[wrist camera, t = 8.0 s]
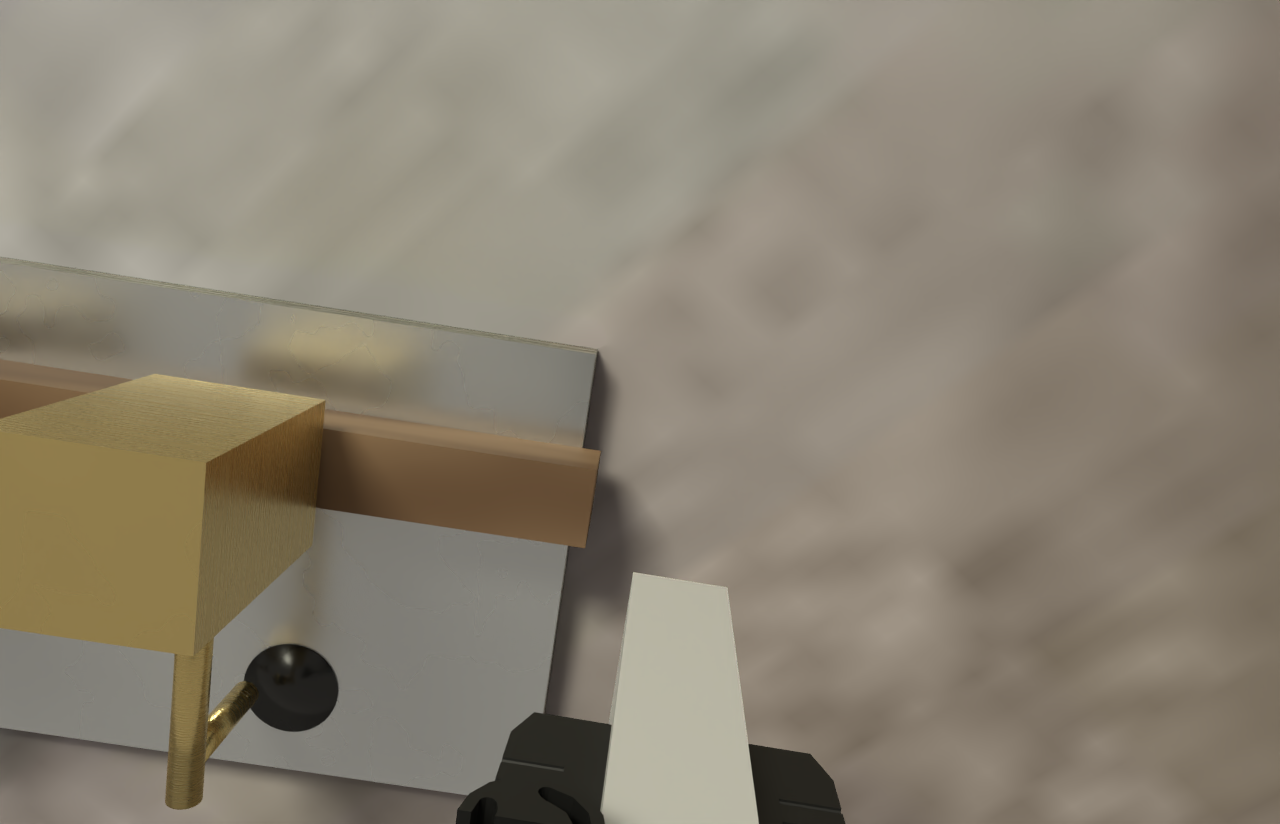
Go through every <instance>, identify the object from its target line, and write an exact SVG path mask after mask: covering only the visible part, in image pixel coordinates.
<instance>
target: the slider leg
mask: <svg viewBox="0 0 1280 824" xmlns="http://www.w3.org/2000/svg"><path fill="white" fill-rule="evenodd" d="M325 402H326V400H323V399H317V398H310V397H304V396H297V395H291V394H284V393H277V392H271V391H264V390H258V389H251V388H245V387H238V386H232V385H225V384H219V383H212V382H205V381H199V380H192V379H186V378H179V377H173V376H166V375H160V374H153V375H149V376H146V377H142V378H139V379H135V380H132V381H128V382H125V383H122V384H118V385H115V386H111V387H108V388H104V389H101V390H98V391H94V392H91V393H87V394H84V395H80V396H77V397H74V398H70V399H67V400H63V401H60V402H56V403H53V404H49V405H46V406H43V407H39V408H36V409H32V410H29V411H25V412H22V413H19V414H15V415H12V416H8V417H5V418H1V419H0V628H3V629H10V630H17V631H23V632H30V633H37V634H44V635H51V636H57V637H64V638H71V639H78V640H85V641H91V642H98V643H105V644H112V645H119V646H126V647H132V648H139V649H146V650H153V651H160V652H166V653H173V654H174V669H173V685H172V701H171V717H170V733H169V749H168V765H167V781H166V797H165V803H166V805H167V806H168V807H170V808H172V809H178V810H181V809H188V808H191V807H194V806H196V805H197V804H199V803H200V802H201V800H202V798H203V785H204V771H205V762H206V761H207V760H208V758H209V757H210V756H211V755H212V754H213V752H214V751H215V750H216V749H217V748H218V746H219V745H220V744H221V743H222V742H223V740H224V739H225V738H226V737H227V736H228V734H229V733H230V732H231V731H232V730H233V728H234V727H235V726H236V725H237V724H238V722H239V721H240V720H241V719H242V718H243V716H244V715H245V714H246V713H247V712H248V710H249V709H250V708H251V707H252V706H253V704H254V703H255V702H256V701H257V699H258V697H259V691H258V689H257V687H256V686H255V685H254V684H253V683H251V682H248V681H242V682H239V683H237V684H236V685H235V686H234V687H233V689H232V690H231V691H230V692H229V693H228V694H227V695H226V696H225V697H224V698H223V700H222V701H221V702H220V703H219V704H218V705H217V706H216V707H215V708H214V709H213V711H212V712H211V713H210V714H209V700H210V686H211V672H212V658H213V644H214V637H215V636H216V635H217V634H218V633H219V632H220V631H221V630H222V629H223V628H224V627H225V626H226V625H227V624H229V623H230V622H231V621H232V620H233V619H234V618H235V617H236V616H237V615H238V614H239V613H240V612H241V611H242V610H243V609H245V608H246V607H247V606H248V605H249V604H250V603H251V602H252V601H253V600H254V599H255V598H256V597H257V596H258V595H259V594H261V593H262V592H263V591H264V590H265V589H266V588H267V587H268V586H269V585H270V584H271V583H272V582H273V581H274V580H276V579H277V578H278V577H279V576H280V575H281V574H282V573H283V572H284V571H285V570H286V569H287V568H288V567H289V566H290V565H292V564H293V563H294V562H295V561H296V560H297V559H298V558H299V557H300V556H301V555H302V554H303V553H304V552H305V551H307V550H308V549H309V548H310V547H311V546H312V545H313V534H314V523H315V512H316V501H317V490H318V479H319V468H320V457H321V446H322V435H323V424H324V413H325ZM208 714H209V715H208Z"/></svg>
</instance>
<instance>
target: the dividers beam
mask: <svg viewBox="0 0 1280 824" xmlns="http://www.w3.org/2000/svg"><path fill="white" fill-rule="evenodd" d="M132 380H133V379H127V378H120V377H114V376H107V375H101V374H94V373H87V372H81V371H74V370H68V369H61V368H55V367H48V366H42V365H35V364H28V363H22V362H15V361H9V360H2V359H0V419H1V418H5V417H8V416H12V415H15V414H19V413H22V412H25V411H29V410H32V409H36V408H39V407H43V406H46V405H49V404H53V403H56V402H60V401H63V400H67V399H70V398H74V397H77V396H80V395H84V394H87V393H91V392H94V391H98V390H101V389H104V388H108V387H111V386H115V385H118V384H122V383H125V382H128V381H132ZM600 454H601V451H598V450H592V449H585V448H579V447H572V446H566V445H559V444H552V443H546V442H539V441H533V440H526V439H520V438H513V437H507V436H500V435H493V434H487V433H480V432H474V431H467V430H461V429H454V428H448V427H441V426H435V425H428V424H421V423H415V422H408V421H402V420H395V419H389V418H382V417H376V416H369V415H362V414H356V413H349V412H343V411H336V410H330V409H325V413H324V424H323V435H322V446H321V457H320V468H319V479H318V490H317V501H316V508H321V509H327V510H334V511H341V512H347V513H354V514H361V515H367V516H374V517H381V518H387V519H394V520H400V521H407V522H414V523H420V524H427V525H434V526H440V527H447V528H454V529H460V530H467V531H474V532H480V533H487V534H493V535H500V536H507V537H513V538H520V539H527V540H533V541H540V542H547V543H553V544H560V545H567V546H573V547H580V548H585V546H586V541H587V536H588V531H589V526H590V520H591V514H592V507H593V500H594V494H595V487H596V480H597V474H598V467H599V461H600Z"/></svg>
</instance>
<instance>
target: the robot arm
mask: <svg viewBox="0 0 1280 824" xmlns="http://www.w3.org/2000/svg"><path fill="white" fill-rule="evenodd" d="M456 824H845V821H844V817H843V814H841V807H840V803H839V799H838V796H837V792H836V789H835V785H834V781H833V780H832V779H831V777H830V776H829V775H828V774H827V773H826V772H825V771H824V769H823V768H822V767H821V766H820V765H819V764H818V762H817V761H816V760H815V759H814V758H813V757H812V755H811V754H807V753H801V752H795V751H789V750H782V749H776V748H770V747H764V746H758V745H752V744H748V739H747V731H746V724H745V716H744V709H743V701H742V694H741V686H740V679H739V671H738V664H737V656H736V649H735V642H734V634H733V627H732V619H731V612H730V604H729V597H728V589H727V587H722V586H716V585H709V584H703V583H697V582H691V581H685V580H678V579H672V578H666V577H660V576H654V575H647V574H641V573H635V572H633V577H632V583H631V589H630V595H629V601H628V608H627V614H626V620H625V626H624V632H623V638H622V645H621V651H620V657H619V663H618V669H617V675H616V682H615V688H614V694H613V700H612V706H611V712H610V719H609V724H604V723H598V722H592V721H586V720H580V719H573V718H567V717H561V716H555V715H549V714H543V713H537V712H534V713H533V714H531V715H530V716H529V717H528V718H527V719H525V720H524V721H523V722H522V723H520V724H519V725H518V726H517V727H516V728H514V729H513V730H512V731H511V733H510V736H509V739H508V742H507V745H506V748H505V751H504V754H503V757H502V762H501V763H500V766H499V769H498V772H497V775H496V778H495V781H492V782H489V783H487V784H485V785H483V786H482V787H480V788H478V789H476V790H475V791H473V792H471V793H469V795H468V796H467V797H466V799H465V800H464V802H463V803H462V804H461V806H460V807H459V808H458V810H457V818H456Z"/></svg>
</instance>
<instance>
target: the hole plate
mask: <svg viewBox="0 0 1280 824" xmlns="http://www.w3.org/2000/svg"><path fill="white" fill-rule="evenodd" d="M597 352H598V349H591V348H585V347H578V346H572V345H565V344H559V343H553V342H546V341H540V340H533V339H527V338H520V337H514V336H507V335H501V334H494V333H488V332H481V331H475V330H469V329H462V328H456V327H449V326H443V325H436V324H430V323H423V322H417V321H410V320H404V319H398V318H391V317H385V316H378V315H372V314H365V313H359V312H352V311H346V310H339V309H333V308H327V307H320V306H314V305H307V304H301V303H294V302H288V301H281V300H275V299H268V298H262V297H256V296H249V295H243V294H236V293H230V292H223V291H217V290H210V289H204V288H197V287H191V286H184V285H178V284H172V283H165V282H159V281H152V280H146V279H139V278H133V277H126V276H120V275H113V274H107V273H101V272H94V271H88V270H81V269H75V268H68V267H62V266H55V265H49V264H42V263H36V262H30V261H23V260H17V259H10V258H4V257H0V359H2V360H9V361H15V362H22V363H28V364H35V365H42V366H48V367H55V368H61V369H68V370H74V371H81V372H87V373H94V374H101V375H107V376H114V377H120V378H127V379H133V380H135V379H139V378H142V377H146V376H149V375H153V374H160V375H166V376H173V377H179V378H186V379H192V380H199V381H205V382H212V383H219V384H225V385H232V386H238V387H245V388H251V389H258V390H264V391H271V392H277V393H284V394H291V395H297V396H304V397H310V398H317V399H323V400H326V402H325V409H330V410H336V411H343V412H349V413H356V414H362V415H369V416H376V417H382V418H389V419H395V420H402V421H408V422H415V423H421V424H428V425H435V426H441V427H448V428H454V429H461V430H467V431H474V432H480V433H487V434H493V435H500V436H507V437H513V438H520V439H526V440H533V441H539V442H546V443H552V444H559V445H566V446H572V447H579V448H584V441H585V434H586V427H587V420H588V414H589V407H590V400H591V393H592V386H593V379H594V373H595V366H596V359H597ZM568 550H569V546H567V545H560V544H553V543H547V542H540V541H533V540H527V539H520V538H513V537H507V536H500V535H493V534H487V533H480V532H474V531H467V530H460V529H454V528H447V527H440V526H434V525H427V524H420V523H414V522H407V521H400V520H394V519H387V518H381V517H374V516H367V515H361V514H354V513H347V512H341V511H334V510H327V509H321V508H316V512H315V523H314V534H313V545H312V546H311V547H310V548H309V549H308V550H307V551H305V552H304V553H303V554H302V555H301V556H300V557H299V558H298V559H297V560H296V561H295V562H294V563H293V564H292V565H290V566H289V567H288V568H287V569H286V570H285V571H284V572H283V573H282V574H281V575H280V576H279V577H278V578H277V579H276V580H274V581H273V582H272V583H271V584H270V585H269V586H268V587H267V588H266V589H265V590H264V591H263V592H262V593H261V594H259V595H258V596H257V597H256V598H255V599H254V600H253V601H252V602H251V603H250V604H249V605H248V606H247V607H246V608H245V609H243V610H242V611H241V612H240V613H239V614H238V615H237V616H236V617H235V618H234V619H233V620H232V621H231V622H230V623H229V624H227V625H226V626H225V627H224V628H223V629H222V630H221V631H220V632H219V633H218V634H217V635H216V636H215V637H214V644H213V658H212V672H211V686H210V700H209V714H210V713H211V712H212V711H213V709H214V708H215V707H216V706H217V705H218V704H219V703H220V702H221V701H222V700H223V698H224V697H225V696H226V695H227V694H228V693H229V692H230V691H231V690H232V689H233V687H234V686H235V685H236V684H237V683H239V682H242V681H248V682H251V683H253V684H254V685H255V686H256V687H257V689H258V691H259V697H258V699H257V701H256V702H255V703H254V704H253V706H252V707H251V708H250V709H249V710H248V712H247V713H246V714H245V715H244V716H243V718H242V719H241V720H240V721H239V722H238V724H237V725H236V726H235V727H234V728H233V730H232V731H231V732H230V733H229V734H228V736H227V737H226V738H225V739H224V740H223V742H222V743H221V744H220V745H219V746H218V748H217V749H216V750H215V751H214V752H213V754H212V755H211V756H210V757H209V758H213V759H220V760H227V761H234V762H241V763H248V764H255V765H262V766H269V767H276V768H282V769H289V770H296V771H303V772H310V773H317V774H324V775H331V776H338V777H345V778H351V779H358V780H365V781H372V782H379V783H386V784H393V785H400V786H407V787H414V788H421V789H427V790H434V791H441V792H448V793H455V794H462V795H469V793H471V792H473V791H475V790H476V789H478V788H480V787H482V786H483V785H485V784H487V783H489V782H492V781H495V778H496V775H497V772H498V769H499V766H500V763H501V762H502V757H503V754H504V751H505V748H506V745H507V742H508V739H509V736H510V733H511V731H512V730H513V729H514V728H516V727H517V726H518V725H519V724H520V723H522V722H523V721H524V720H525V719H527V718H528V717H529V716H530V715H531V714H533V713H534V712H537V713H543V714H544V713H545V706H546V700H547V693H548V686H549V679H550V672H551V666H552V659H553V652H554V645H555V638H556V631H557V625H558V618H559V611H560V604H561V597H562V591H563V584H564V577H565V570H566V563H567V557H568ZM173 669H174V654H173V653H166V652H160V651H153V650H146V649H139V648H132V647H126V646H119V645H112V644H105V643H98V642H91V641H85V640H78V639H71V638H64V637H57V636H51V635H44V634H37V633H30V632H23V631H17V630H10V629H3V628H0V728H6V729H13V730H20V731H27V732H34V733H41V734H48V735H55V736H62V737H68V738H75V739H82V740H89V741H96V742H103V743H110V744H117V745H124V746H131V747H137V748H144V749H151V750H158V751H165V752H168V749H169V733H170V717H171V701H172V685H173ZM209 714H208V715H209Z"/></svg>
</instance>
